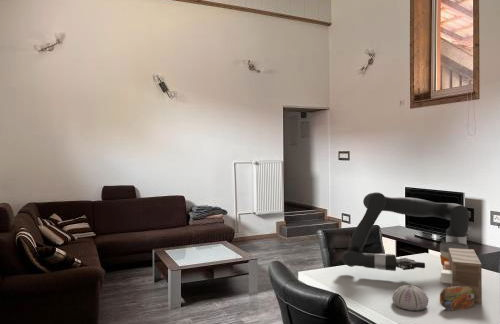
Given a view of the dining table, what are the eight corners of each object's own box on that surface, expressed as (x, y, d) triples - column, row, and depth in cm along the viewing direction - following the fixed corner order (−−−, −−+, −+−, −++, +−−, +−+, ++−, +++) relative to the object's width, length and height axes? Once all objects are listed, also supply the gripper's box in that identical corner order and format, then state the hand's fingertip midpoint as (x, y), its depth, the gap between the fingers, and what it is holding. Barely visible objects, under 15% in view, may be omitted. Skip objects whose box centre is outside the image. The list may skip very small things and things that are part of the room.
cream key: (440, 278, 166) (440, 269, 166) (459, 280, 164) (459, 271, 164) (441, 282, 162) (441, 272, 162) (460, 284, 159) (460, 274, 159)
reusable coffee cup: (461, 271, 195) (461, 241, 194) (473, 279, 182) (473, 247, 182) (435, 271, 196) (435, 241, 196) (445, 279, 183) (445, 247, 183)
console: (448, 282, 179) (448, 247, 179) (473, 284, 175) (473, 249, 175) (453, 301, 157) (452, 261, 157) (481, 304, 153) (481, 263, 153)
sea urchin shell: (418, 316, 144) (417, 294, 144) (385, 305, 154) (384, 285, 154) (434, 306, 152) (434, 286, 152) (402, 297, 163) (402, 278, 163)
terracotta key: (444, 269, 178) (444, 261, 178) (461, 271, 176) (461, 262, 176) (445, 273, 174) (445, 264, 174) (462, 274, 171) (462, 265, 171)
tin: (444, 312, 147) (444, 290, 147) (438, 309, 150) (438, 287, 150) (476, 307, 151) (476, 285, 151) (470, 304, 154) (469, 283, 154)
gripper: (384, 257, 180) (425, 261, 173) (386, 250, 192) (424, 253, 185) (384, 273, 180) (425, 277, 173) (386, 265, 192) (424, 269, 185)
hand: (424, 265), depth 179 cm, fingers closed
